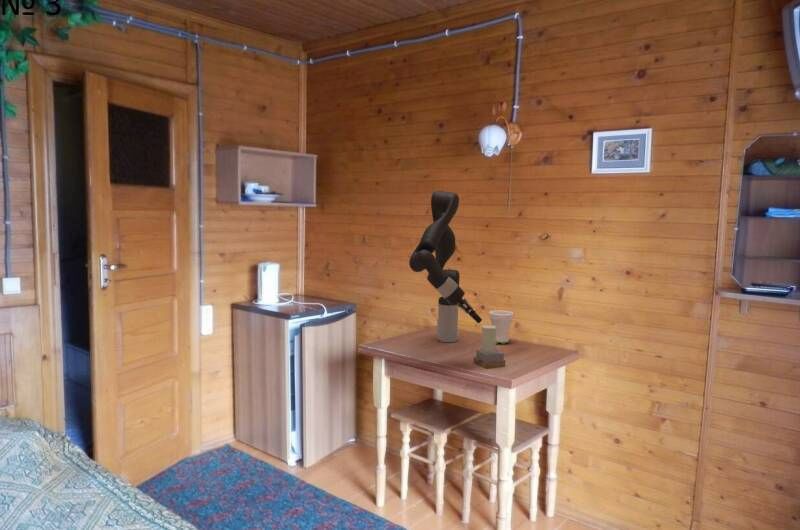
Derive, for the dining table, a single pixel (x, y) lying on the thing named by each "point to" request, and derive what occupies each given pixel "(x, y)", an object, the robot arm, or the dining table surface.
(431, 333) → the dining table surface
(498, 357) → the charcoal slab
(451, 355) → the dining table surface
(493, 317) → the cup
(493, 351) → the sage pillar
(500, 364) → the walnut slab
